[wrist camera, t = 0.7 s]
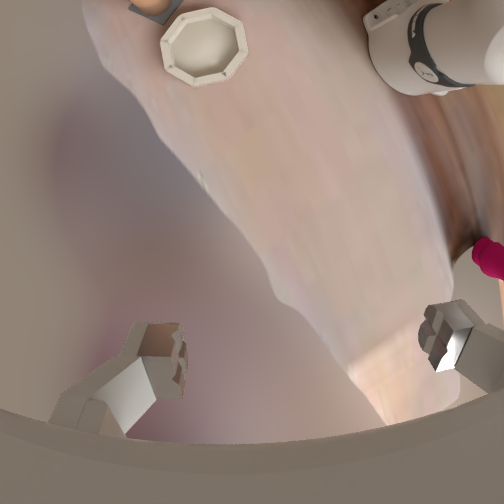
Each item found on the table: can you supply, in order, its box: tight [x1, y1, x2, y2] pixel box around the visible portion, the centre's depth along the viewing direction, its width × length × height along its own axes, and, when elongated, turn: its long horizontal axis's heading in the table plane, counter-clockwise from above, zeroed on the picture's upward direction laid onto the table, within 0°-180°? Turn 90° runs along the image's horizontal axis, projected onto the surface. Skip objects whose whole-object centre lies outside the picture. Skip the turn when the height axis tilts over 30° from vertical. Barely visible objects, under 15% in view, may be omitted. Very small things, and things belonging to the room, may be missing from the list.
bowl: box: [160, 7, 248, 87], centre depth 37 cm, size 12×12×3 cm
